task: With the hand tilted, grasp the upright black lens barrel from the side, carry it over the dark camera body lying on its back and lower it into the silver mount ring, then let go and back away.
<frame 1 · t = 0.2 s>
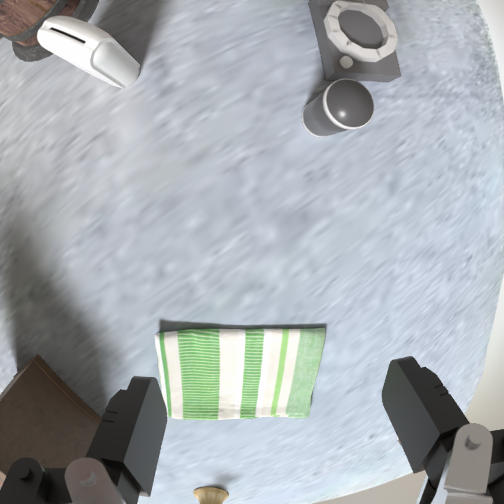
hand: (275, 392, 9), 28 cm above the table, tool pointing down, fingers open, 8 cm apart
hand bell: (211, 493, 53), on the table
dish towel: (238, 374, 43), on the table
camera body: (349, 40, 30), on the table
lens: (320, 118, 33), on the table
photo printer: (108, 65, 29), on the table
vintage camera: (57, 397, 43), on the table
tankard: (36, 23, 25), on the table
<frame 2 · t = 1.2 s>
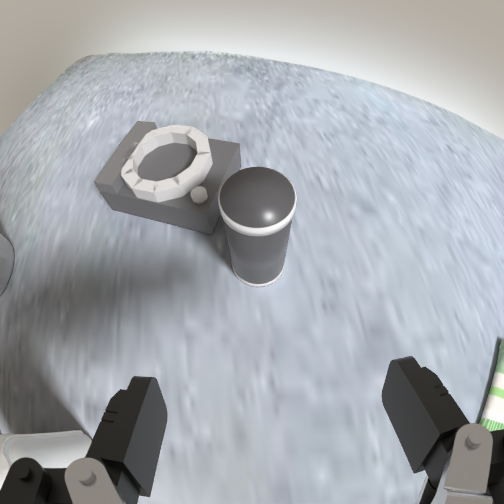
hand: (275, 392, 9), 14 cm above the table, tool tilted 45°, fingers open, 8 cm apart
camera body: (175, 186, 31), on the table
lens: (258, 262, 27), on the table
photo printer: (61, 457, 19), on the table
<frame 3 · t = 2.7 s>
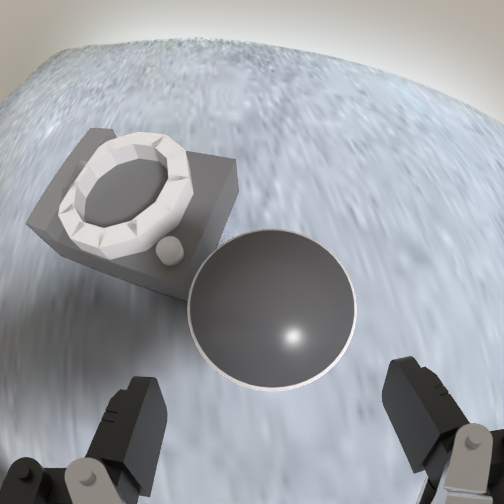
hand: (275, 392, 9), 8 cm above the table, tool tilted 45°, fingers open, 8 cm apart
camera body: (143, 223, 21), on the table
lens: (265, 350, 17), on the table
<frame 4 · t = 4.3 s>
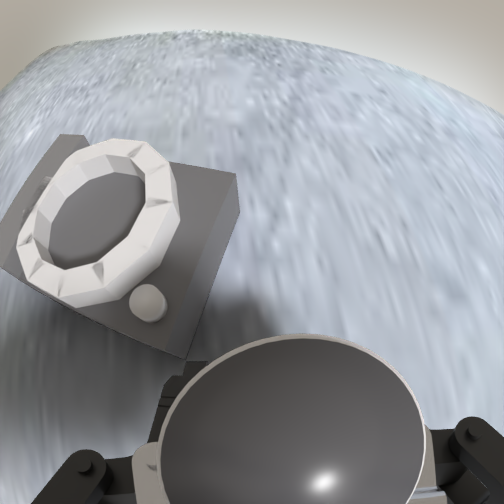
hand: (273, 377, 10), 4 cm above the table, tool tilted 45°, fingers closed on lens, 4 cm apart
camera body: (122, 252, 17), on the table
lens: (272, 417, 13), on the table, touching gripper
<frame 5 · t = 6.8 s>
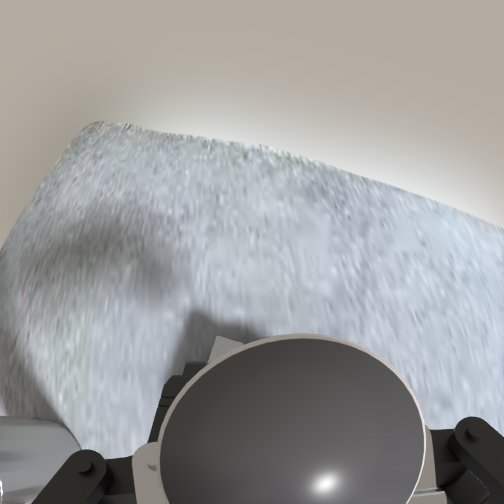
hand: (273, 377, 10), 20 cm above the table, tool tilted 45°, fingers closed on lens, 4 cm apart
camera body: (268, 401, 27), on the table
lens: (272, 417, 13), point 16 cm above the table, touching gripper
when the fingers open (9 cm above the table, at t = 9.4 s): lens stays where it is, resting on camera body.
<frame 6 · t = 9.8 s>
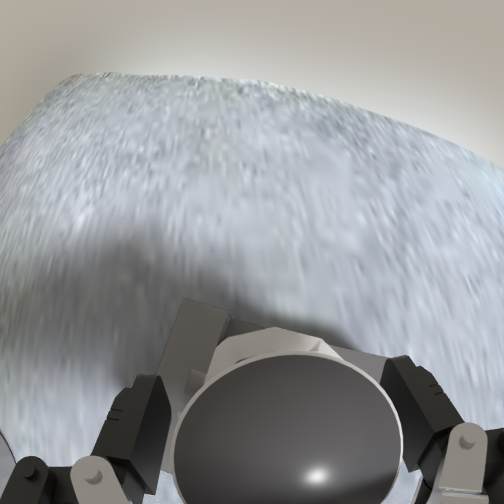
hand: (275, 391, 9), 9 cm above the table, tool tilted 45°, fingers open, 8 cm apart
camera body: (269, 411, 17), on the table
lens: (273, 417, 14), point 4 cm above the table, touching camera body
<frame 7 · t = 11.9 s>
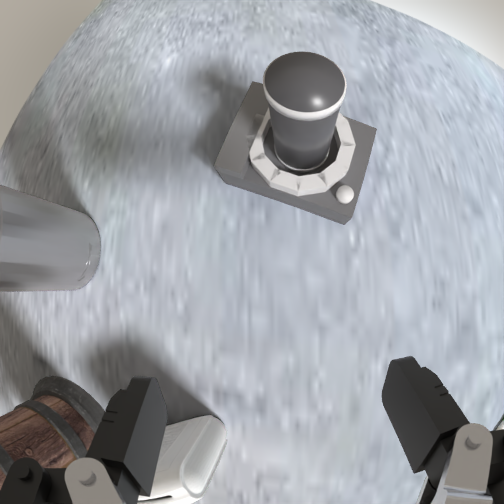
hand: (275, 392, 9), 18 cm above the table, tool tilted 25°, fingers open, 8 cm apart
camera body: (299, 161, 28), on the table
lens: (301, 147, 25), point 4 cm above the table, touching camera body
photo printer: (184, 436, 27), on the table
tankard: (72, 448, 29), on the table
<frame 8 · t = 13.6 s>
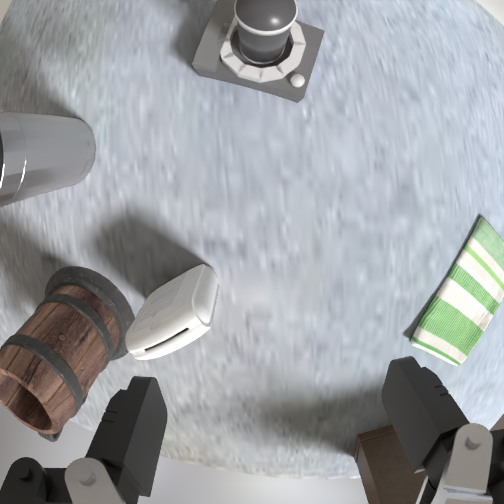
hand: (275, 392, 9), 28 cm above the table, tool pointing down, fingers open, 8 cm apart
dish towel: (468, 297, 42), on the table
camera body: (259, 54, 29), on the table
lens: (262, 45, 26), point 4 cm above the table, touching camera body
photo printer: (183, 288, 39), on the table
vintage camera: (391, 437, 52), on the table
tankard: (87, 333, 41), on the table
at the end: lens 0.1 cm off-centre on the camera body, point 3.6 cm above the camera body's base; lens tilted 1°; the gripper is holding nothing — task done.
